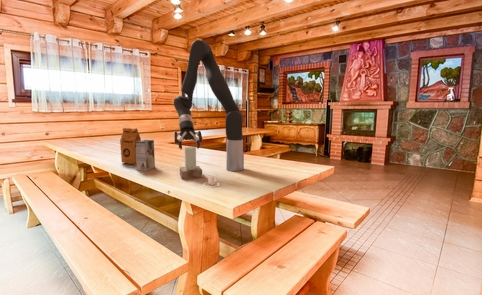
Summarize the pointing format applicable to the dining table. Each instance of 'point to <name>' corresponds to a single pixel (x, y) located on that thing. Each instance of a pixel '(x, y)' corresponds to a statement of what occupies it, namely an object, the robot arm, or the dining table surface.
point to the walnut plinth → (190, 173)
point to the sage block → (190, 158)
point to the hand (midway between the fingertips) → (189, 148)
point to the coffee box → (145, 154)
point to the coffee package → (129, 145)
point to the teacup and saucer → (211, 181)
